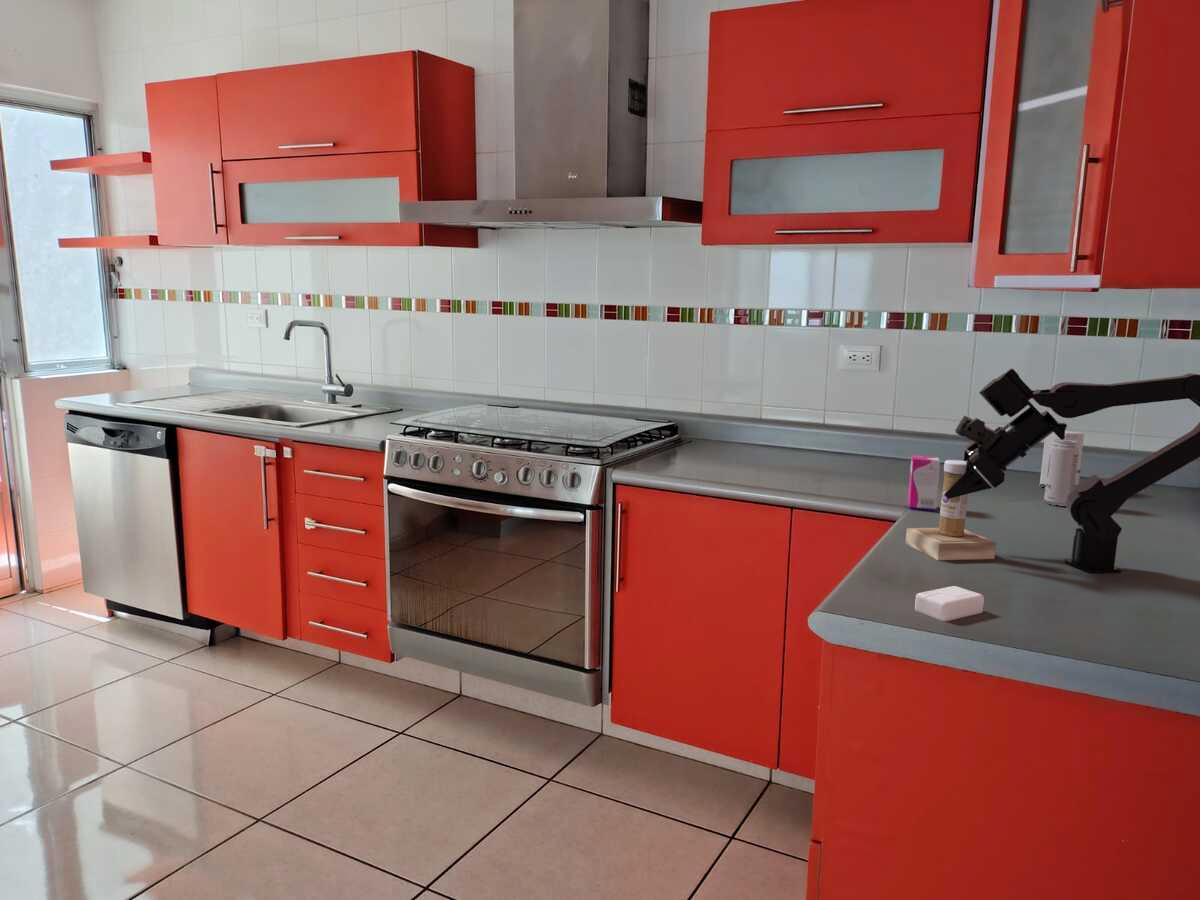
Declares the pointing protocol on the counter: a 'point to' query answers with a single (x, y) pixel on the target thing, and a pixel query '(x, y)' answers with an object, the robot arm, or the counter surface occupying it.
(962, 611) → the soap
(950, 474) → the sprinkles bottle
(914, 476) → the supplement box
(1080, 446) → the skincare box
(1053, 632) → the counter surface
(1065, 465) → the energy drink can
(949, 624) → the counter surface
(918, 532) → the beech tray
